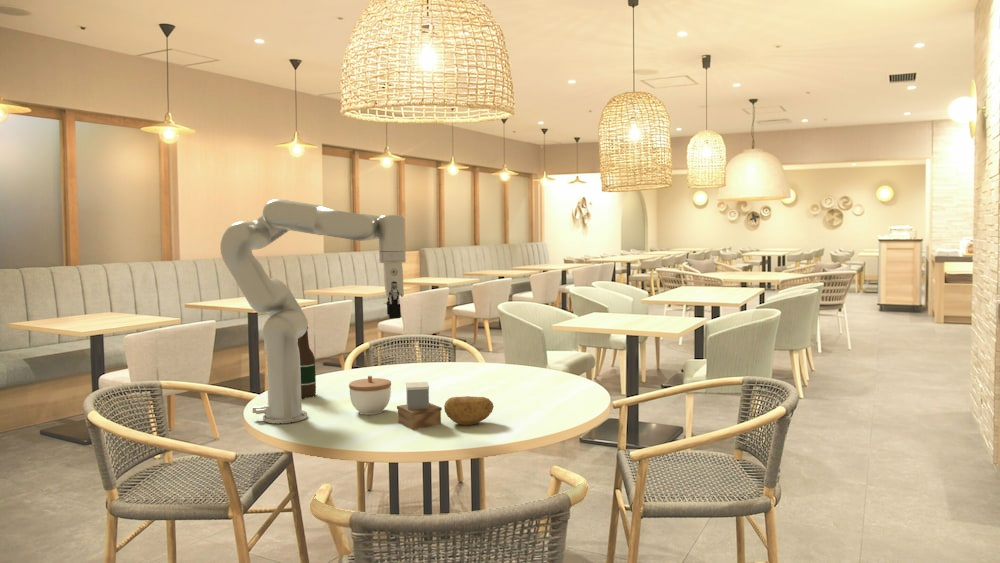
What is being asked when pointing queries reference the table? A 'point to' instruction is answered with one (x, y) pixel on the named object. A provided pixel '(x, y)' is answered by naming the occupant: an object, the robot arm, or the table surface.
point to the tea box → (419, 416)
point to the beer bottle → (307, 367)
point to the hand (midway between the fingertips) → (393, 316)
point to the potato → (468, 409)
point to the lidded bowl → (370, 395)
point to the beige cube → (417, 395)
